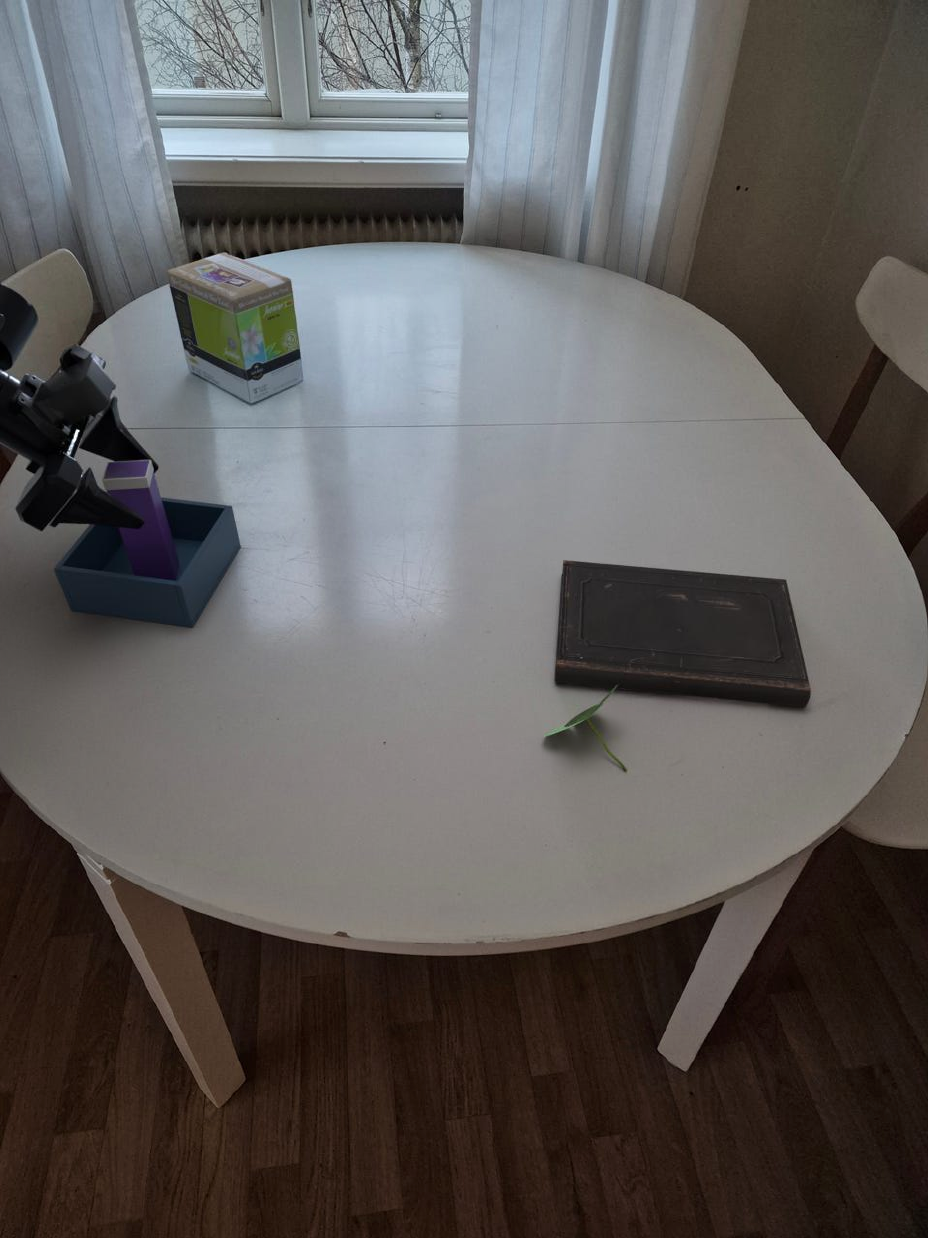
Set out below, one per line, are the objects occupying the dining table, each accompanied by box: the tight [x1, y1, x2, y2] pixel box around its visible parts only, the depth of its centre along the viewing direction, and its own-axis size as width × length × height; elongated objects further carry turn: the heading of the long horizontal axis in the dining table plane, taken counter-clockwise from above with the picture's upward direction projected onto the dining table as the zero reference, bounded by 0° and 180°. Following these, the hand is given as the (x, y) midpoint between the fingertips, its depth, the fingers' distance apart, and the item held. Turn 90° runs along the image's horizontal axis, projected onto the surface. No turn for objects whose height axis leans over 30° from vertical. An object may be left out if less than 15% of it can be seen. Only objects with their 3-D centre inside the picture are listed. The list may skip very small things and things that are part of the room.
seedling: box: [542, 685, 628, 772], centre depth 74 cm, size 7×8×7 cm
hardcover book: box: [553, 559, 812, 708], centre depth 85 cm, size 16×23×2 cm
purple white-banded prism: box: [101, 460, 179, 581], centre depth 87 cm, size 4×3×13 cm
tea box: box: [166, 251, 304, 404], centre depth 119 cm, size 15×10×15 cm, turn 48°
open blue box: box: [53, 496, 242, 628], centre depth 90 cm, size 13×13×6 cm
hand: (149, 496), depth 85 cm, fingers open, 9 cm apart
